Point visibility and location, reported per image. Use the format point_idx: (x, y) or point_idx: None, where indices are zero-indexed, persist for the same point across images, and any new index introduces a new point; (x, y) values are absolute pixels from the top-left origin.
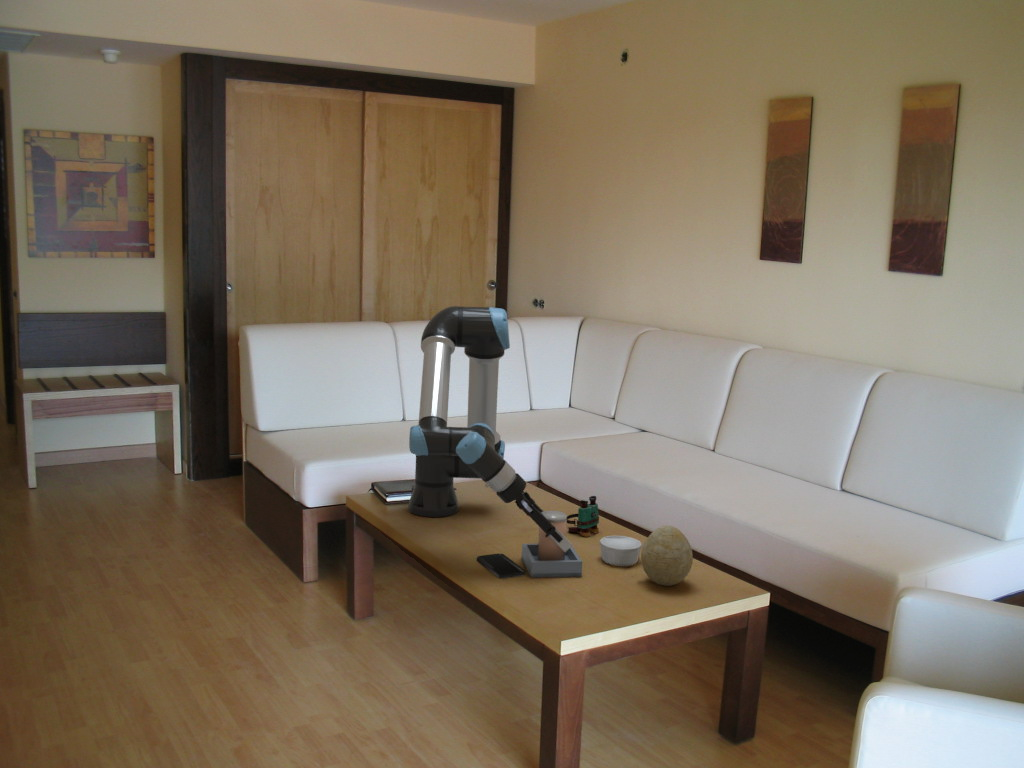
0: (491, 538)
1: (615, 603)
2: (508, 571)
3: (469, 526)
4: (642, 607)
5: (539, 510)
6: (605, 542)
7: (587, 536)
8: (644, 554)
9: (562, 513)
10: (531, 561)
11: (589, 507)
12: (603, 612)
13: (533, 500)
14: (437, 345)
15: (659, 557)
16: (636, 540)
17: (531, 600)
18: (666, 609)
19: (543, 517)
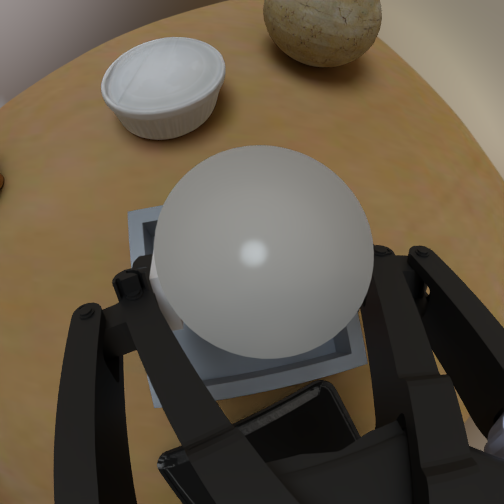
0: (22, 456)
1: (437, 159)
2: (322, 433)
3: None
4: (432, 120)
5: (186, 361)
6: (165, 99)
7: (3, 179)
8: (356, 35)
9: (224, 171)
10: (359, 365)
11: None
12: (476, 190)
13: (259, 459)
14: None
15: (380, 23)
16: (147, 44)
17: None
18: (422, 90)
19: (485, 310)
